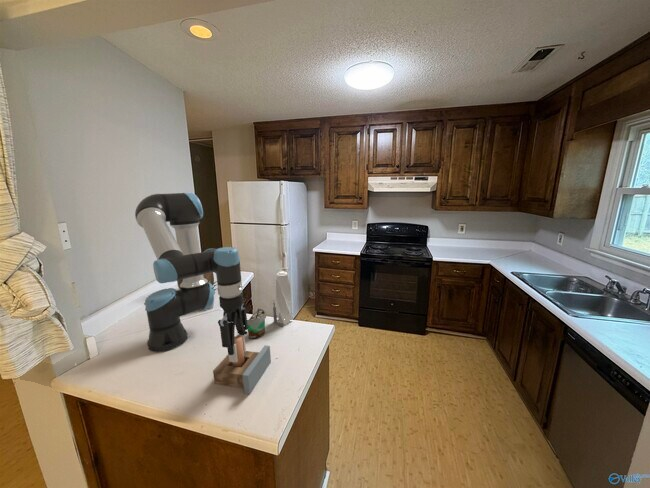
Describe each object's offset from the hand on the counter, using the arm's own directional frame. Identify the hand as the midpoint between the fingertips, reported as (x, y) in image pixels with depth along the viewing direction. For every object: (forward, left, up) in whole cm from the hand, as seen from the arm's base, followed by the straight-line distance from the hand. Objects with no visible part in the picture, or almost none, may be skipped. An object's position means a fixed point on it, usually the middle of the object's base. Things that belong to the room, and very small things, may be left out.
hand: (238, 356), depth 91 cm
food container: (-6, +27, -8) cm, 29 cm away
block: (0, 0, -7) cm, 7 cm away
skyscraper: (+1, +40, -9) cm, 41 cm away
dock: (-4, 0, -8) cm, 9 cm away
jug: (-70, +66, -8) cm, 96 cm away
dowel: (0, 0, -5) cm, 5 cm away
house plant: (-47, +48, -8) cm, 67 cm away
